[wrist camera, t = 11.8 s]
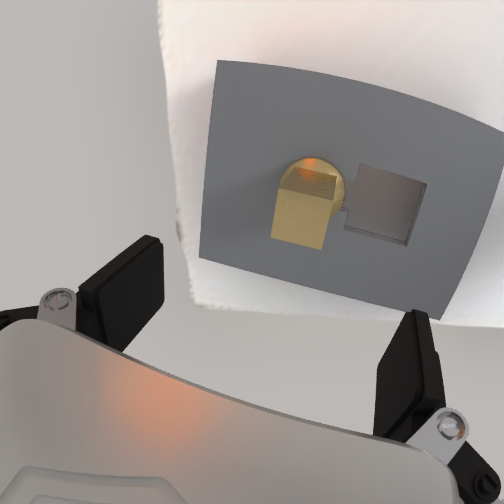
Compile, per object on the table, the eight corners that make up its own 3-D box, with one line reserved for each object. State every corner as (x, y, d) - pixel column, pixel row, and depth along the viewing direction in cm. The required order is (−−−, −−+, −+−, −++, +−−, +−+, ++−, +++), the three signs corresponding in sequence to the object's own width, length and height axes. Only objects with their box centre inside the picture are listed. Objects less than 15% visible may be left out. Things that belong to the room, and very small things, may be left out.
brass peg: (350, 153, 28) (352, 189, 17) (339, 202, 30) (332, 266, 20) (297, 141, 29) (265, 170, 18) (289, 191, 31) (254, 246, 21)
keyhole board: (480, 126, 24) (511, 136, 18) (428, 281, 33) (439, 320, 27) (244, 66, 28) (217, 60, 22) (224, 228, 37) (199, 257, 31)
